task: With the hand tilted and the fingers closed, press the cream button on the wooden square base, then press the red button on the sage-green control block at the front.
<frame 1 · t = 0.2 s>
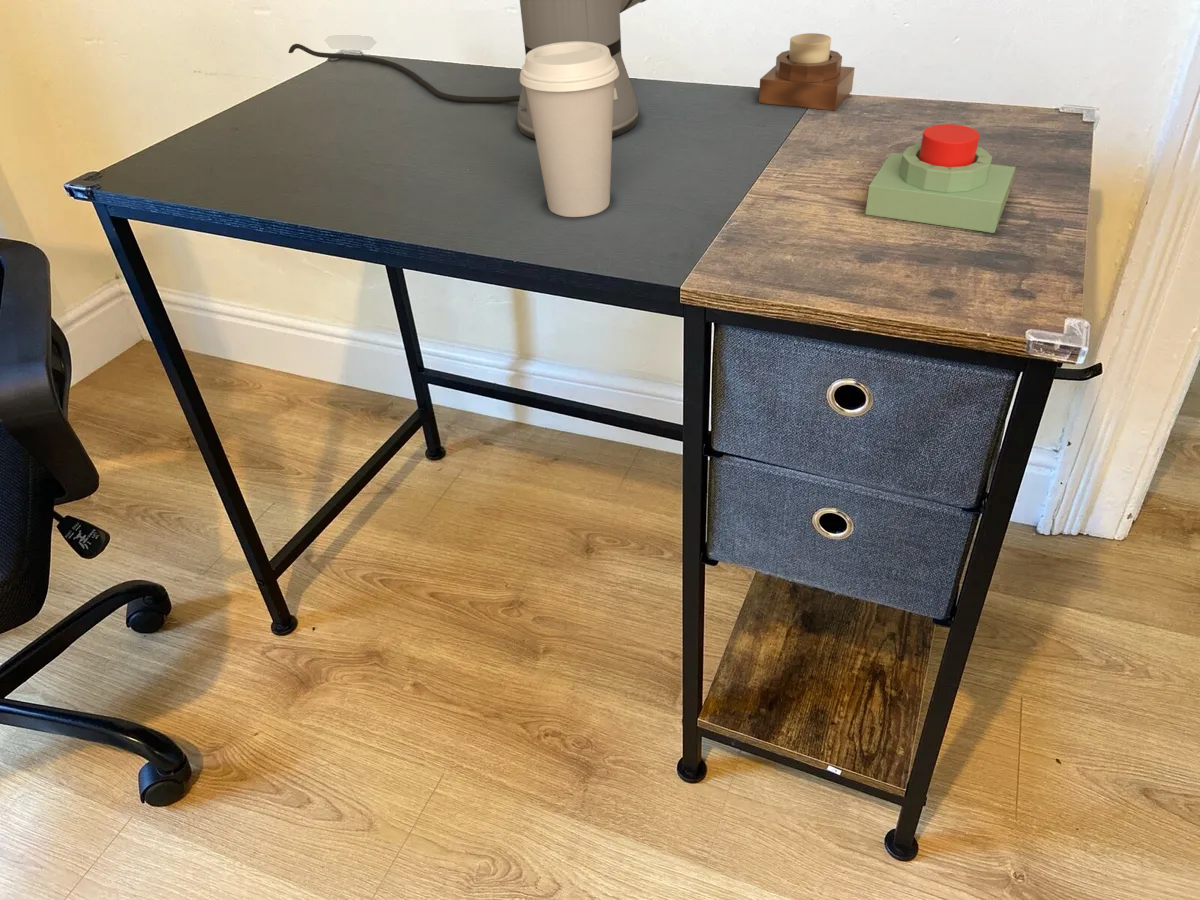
sage console: (937, 205, 87), on the table
wooden square base: (805, 97, 114), on the table
coffee cup: (579, 206, 92), on the table
near button: (948, 146, 83), point 6 cm above the table, slide at 0.1 cm
far button: (809, 49, 110), point 6 cm above the table, slide at 0.1 cm
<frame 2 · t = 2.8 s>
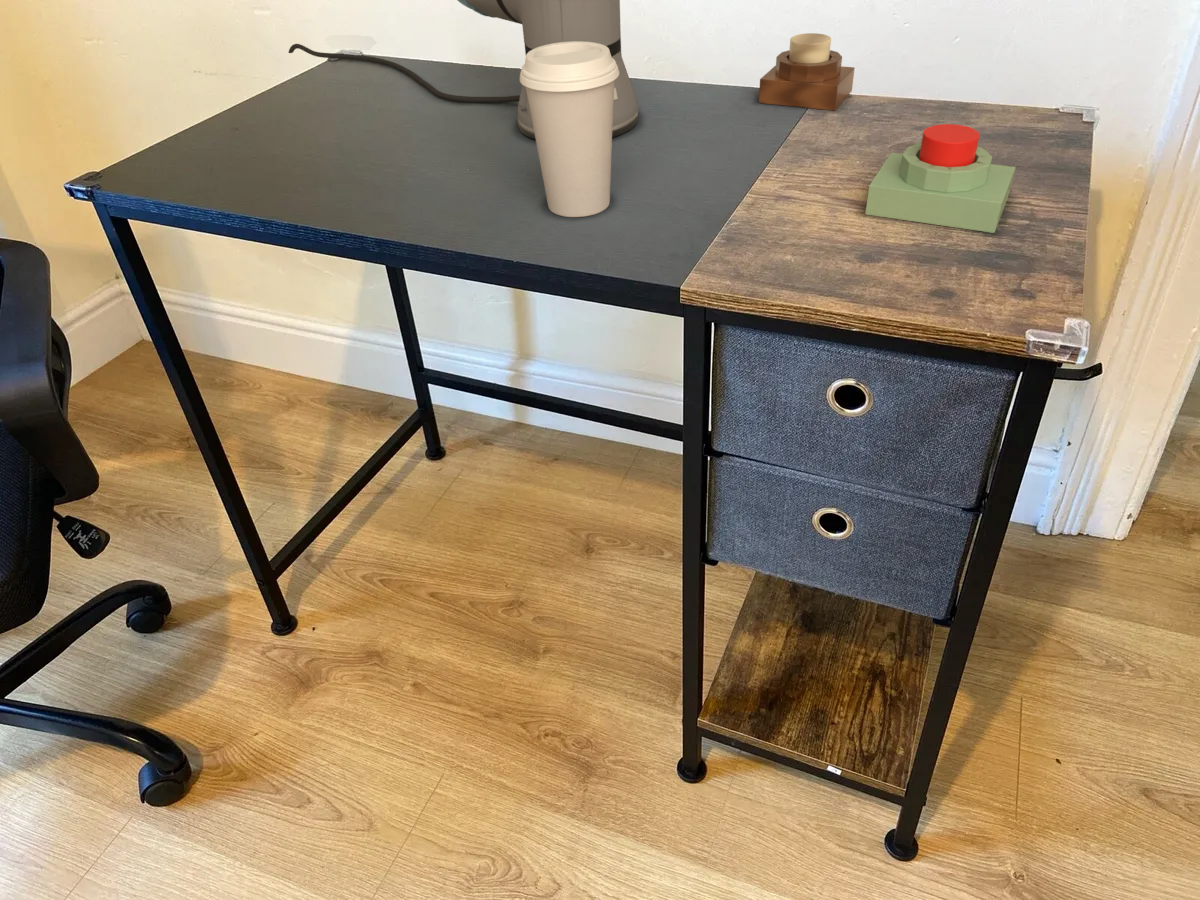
nothing on the table moved.
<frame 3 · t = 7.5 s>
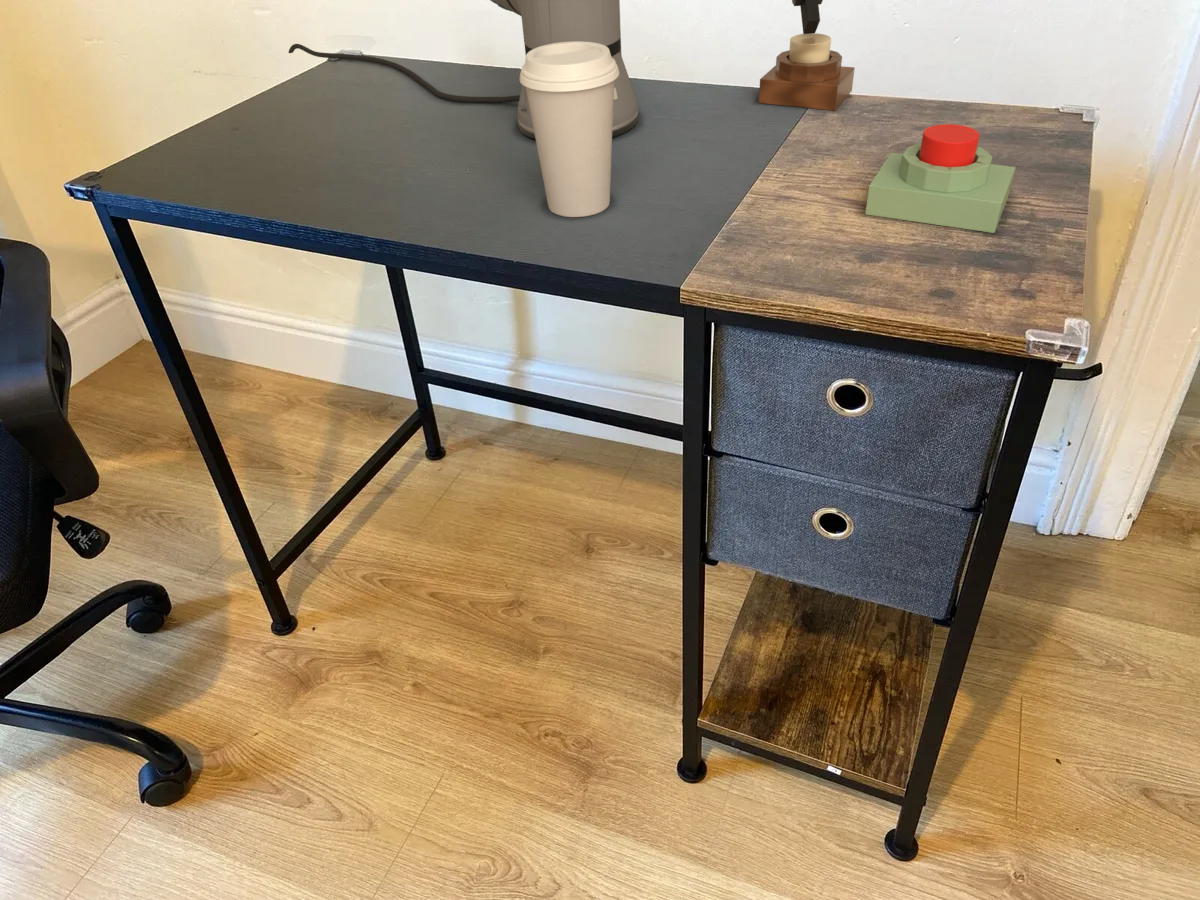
hand: (811, 27, 109), 8 cm above the table, tool tilted 45°, fingers closed
far button: (809, 49, 110), point 6 cm above the table, slide at 0.1 cm, touching gripper
everything else where it was.
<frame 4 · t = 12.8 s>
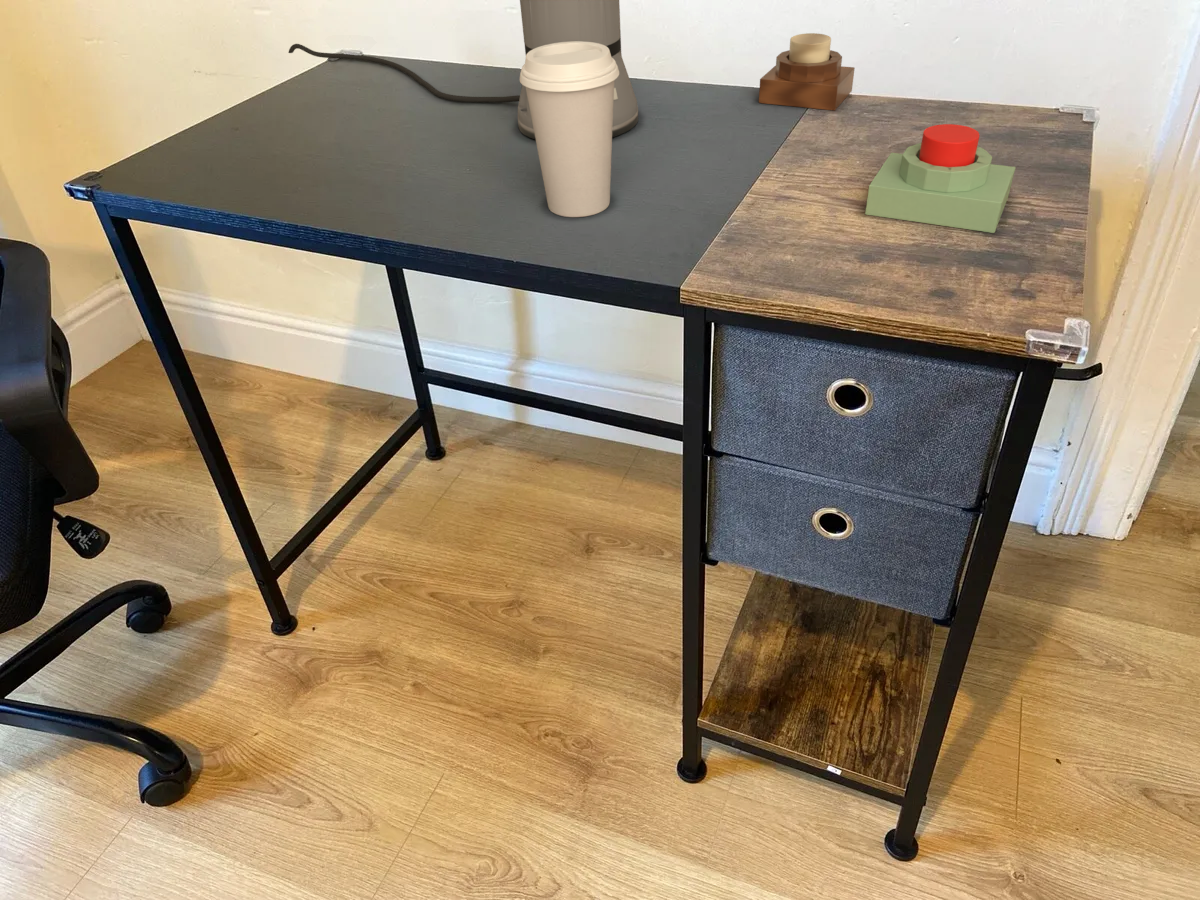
far button: (809, 49, 110), point 6 cm above the table, slide at 0.1 cm
everything else where it was.
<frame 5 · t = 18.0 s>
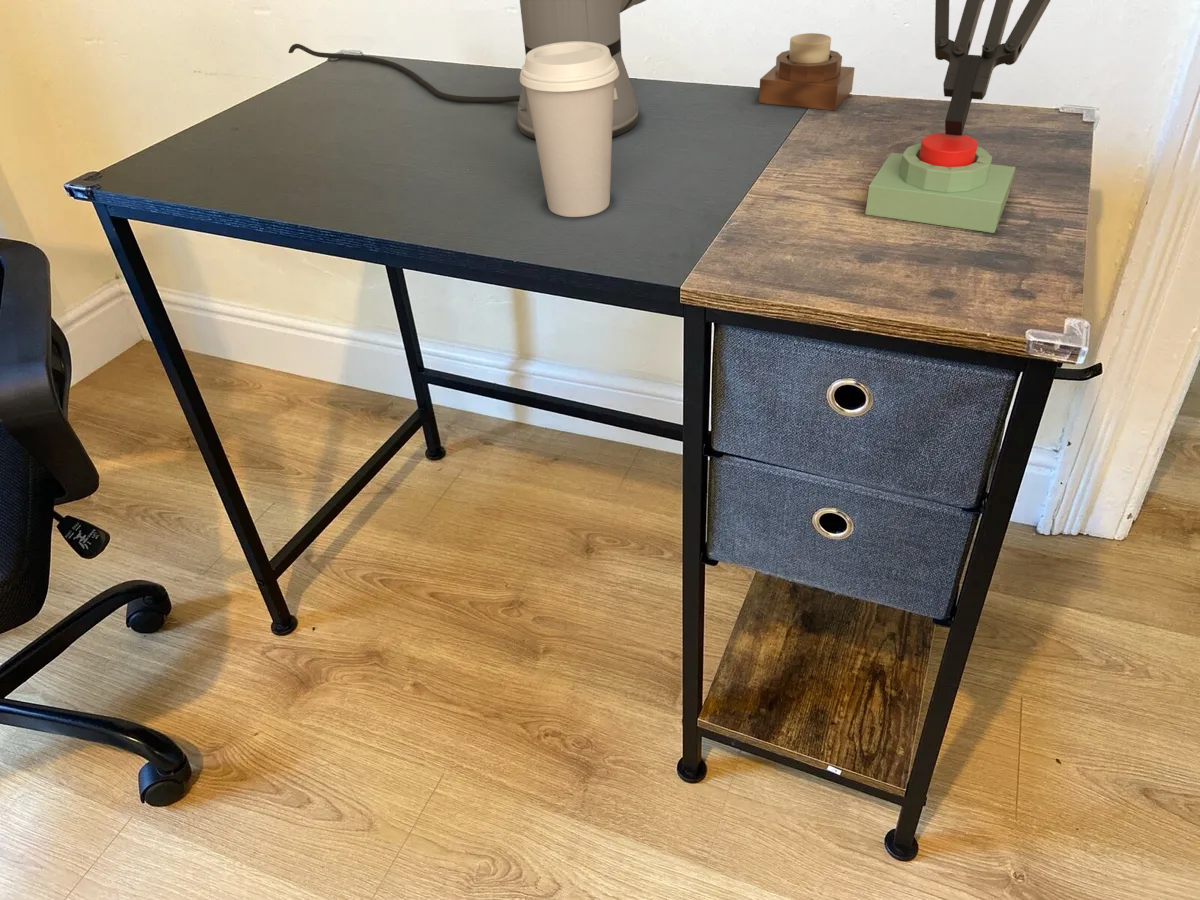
hand: (953, 128, 82), 8 cm above the table, tool tilted 45°, fingers closed
near button: (947, 155, 84), point 5 cm above the table, slide at -0.7 cm, touching gripper
everything else where it was.
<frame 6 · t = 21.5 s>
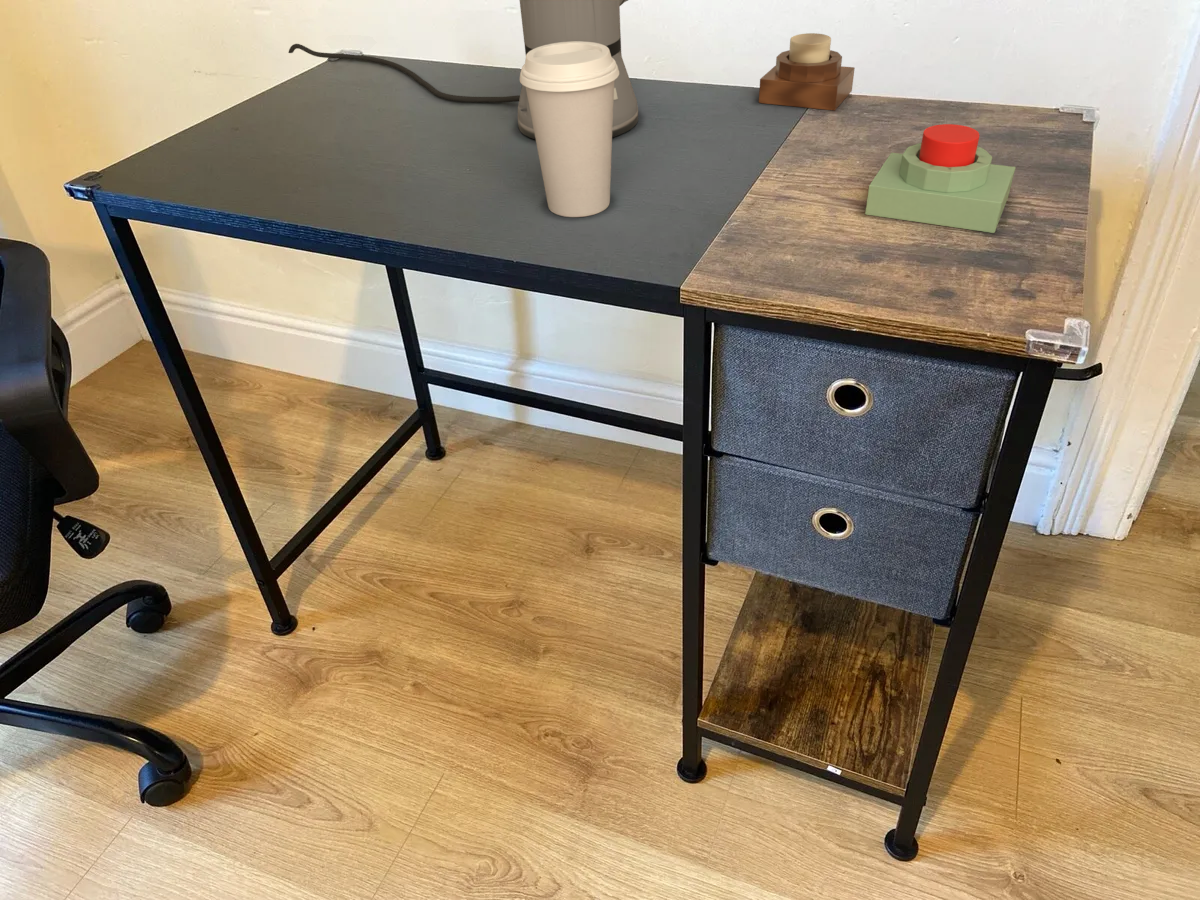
near button: (948, 146, 83), point 6 cm above the table, slide at 0.1 cm
everything else where it was.
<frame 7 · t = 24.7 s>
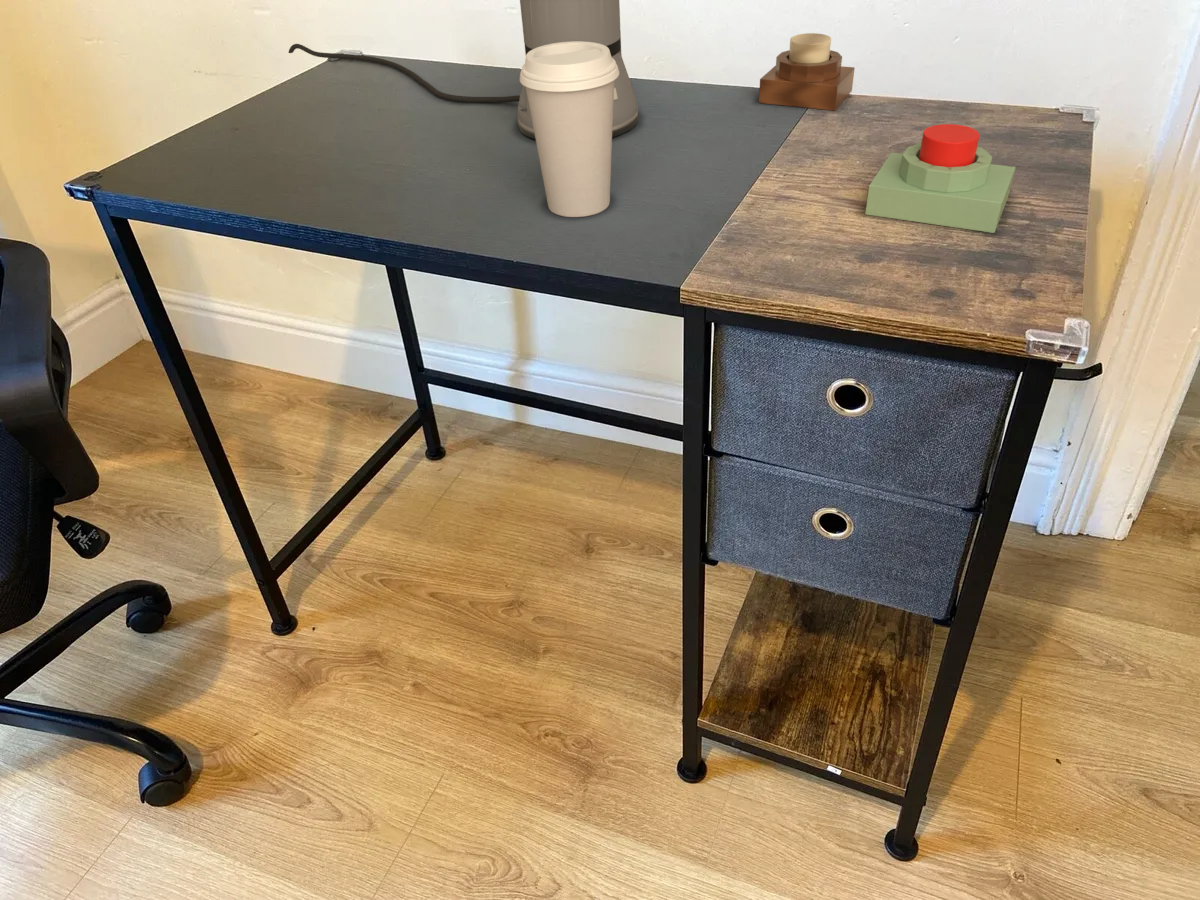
nothing on the table moved.
at the end: far button pushed in 1.5 cm at the most during the clip, back to where it started at the end; near button pushed in 1.5 cm at the most during the clip, back to where it started at the end; near button slide at 0.1 cm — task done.
